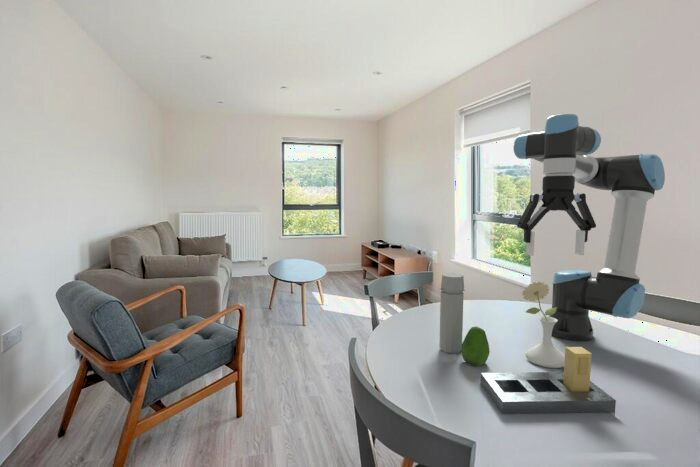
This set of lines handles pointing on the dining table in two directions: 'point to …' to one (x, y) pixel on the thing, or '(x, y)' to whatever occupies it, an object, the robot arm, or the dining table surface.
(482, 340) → the avocado
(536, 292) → the flower in vase
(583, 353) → the yellow tall block
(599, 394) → the jack panel
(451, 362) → the dining table surface
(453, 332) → the water bottle
